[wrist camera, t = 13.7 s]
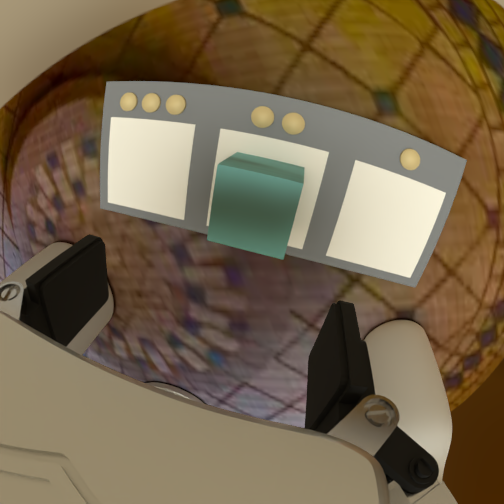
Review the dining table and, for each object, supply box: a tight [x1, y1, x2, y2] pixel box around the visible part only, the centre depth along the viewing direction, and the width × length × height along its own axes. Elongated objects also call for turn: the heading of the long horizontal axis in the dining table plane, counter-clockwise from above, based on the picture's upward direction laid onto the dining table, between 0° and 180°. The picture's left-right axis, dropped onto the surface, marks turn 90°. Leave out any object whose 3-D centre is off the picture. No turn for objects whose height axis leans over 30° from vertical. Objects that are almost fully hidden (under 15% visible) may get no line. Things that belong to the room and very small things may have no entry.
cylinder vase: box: [0, 242, 114, 355], centre depth 21 cm, size 12×12×25 cm
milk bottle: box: [364, 320, 452, 483], centre depth 19 cm, size 8×8×20 cm
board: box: [100, 81, 467, 287], centre depth 21 cm, size 12×30×2 cm, turn 79°
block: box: [207, 152, 305, 260], centre depth 19 cm, size 5×5×5 cm
